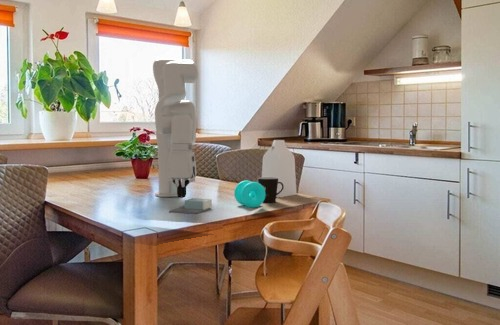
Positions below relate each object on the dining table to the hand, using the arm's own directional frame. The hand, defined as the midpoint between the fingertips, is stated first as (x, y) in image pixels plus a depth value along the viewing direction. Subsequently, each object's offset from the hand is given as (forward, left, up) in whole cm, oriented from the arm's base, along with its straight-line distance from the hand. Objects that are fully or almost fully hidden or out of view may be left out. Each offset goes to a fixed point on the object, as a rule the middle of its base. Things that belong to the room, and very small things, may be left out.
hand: (181, 197), depth 177 cm
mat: (+1, +4, -5) cm, 6 cm away
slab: (-3, +1, -3) cm, 4 cm away
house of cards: (-53, +11, -5) cm, 54 cm away
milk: (-53, +23, -5) cm, 58 cm away
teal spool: (-17, +21, -5) cm, 27 cm away
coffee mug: (-31, +25, -5) cm, 40 cm away
